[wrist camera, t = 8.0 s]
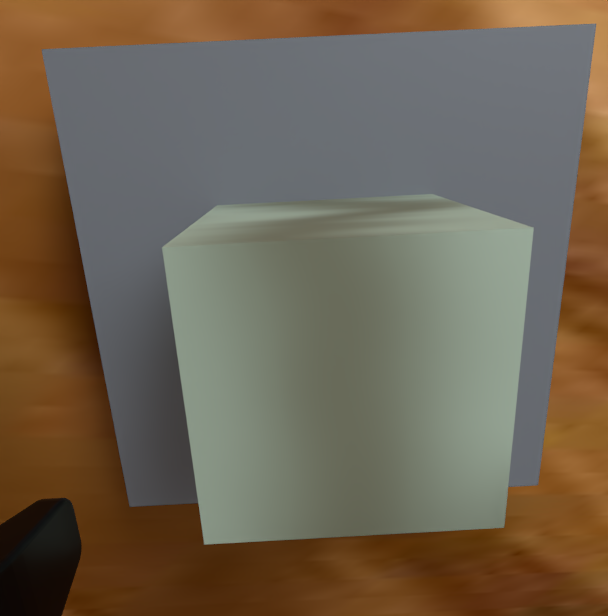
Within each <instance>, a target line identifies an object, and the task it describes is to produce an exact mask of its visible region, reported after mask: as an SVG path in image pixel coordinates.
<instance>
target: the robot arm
mask: <svg viewBox="0 0 608 616" xmlns="http://www.w3.org/2000/svg"><path fill="white" fill-rule="evenodd" d="M80 556H81V539H80V534H79V530H78V526H77V521H76V517H75V513H74V509H73V505H72V503H71V502H70V500H68V499H66V498H52V499H41V500H38V501H36V502H35V503H33V504H32V505H30V506H29V507H27V508H26V509H24V510H23V511H21V512H20V513H18V514H16V515H15V516H13V517H12V518H10V519H9V520H7V521H6V522H4V523H3V524H1V525H0V616H62V613H63V610H64V607H65V604H66V600H67V597H68V594H69V591H70V588H71V585H72V582H73V579H74V576H75V573H76V569H77V566H78V563H79V560H80Z"/></svg>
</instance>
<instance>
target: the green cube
mask: <svg viewBox="0 0 608 616" xmlns="http://www.w3.org/2000/svg"><path fill="white" fill-rule="evenodd" d="M533 231H534V228H533V227H530V226H527V225H524V224H521V223H518V222H515V221H512V220H509V219H506V218H503V217H500V216H497V215H494V214H491V213H488V212H485V211H482V210H479V209H476V208H473V207H470V206H467V205H464V204H461V203H458V202H455V201H452V200H449V199H446V198H443V197H440V196H437V195H434V194H424V195H404V196H385V197H366V198H347V199H328V200H309V201H290V202H271V203H252V204H233V205H217V206H215V207H214V208H213V209H212V210H210V211H209V212H208V213H206V214H205V215H204V216H202V217H201V218H200V219H198V220H197V221H196V222H195V223H193V224H192V225H191V226H189V227H188V228H187V229H185V230H184V231H183V232H181V233H180V234H179V235H178V236H176V237H175V238H174V239H172V240H171V241H170V242H168V243H167V244H166V245H164V246H163V247H162V251H163V258H164V265H165V272H166V279H167V286H168V293H169V300H170V307H171V314H172V321H173V328H174V335H175V342H176V349H177V356H178V363H179V370H180V377H181V384H182V391H183V398H184V405H185V413H186V420H187V427H188V434H189V441H190V448H191V455H192V462H193V469H194V476H195V483H196V490H197V497H198V504H199V511H200V518H201V525H202V532H203V539H204V545H205V544H222V543H240V542H258V541H275V540H293V539H311V538H329V537H346V536H364V535H382V534H399V533H417V532H435V531H453V530H470V529H488V528H504V524H505V514H506V503H507V493H508V483H509V473H510V463H511V453H512V443H513V433H514V423H515V413H516V402H517V392H518V382H519V372H520V362H521V352H522V342H523V332H524V322H525V312H526V301H527V291H528V281H529V271H530V261H531V251H532V241H533Z"/></svg>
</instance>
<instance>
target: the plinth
mask: <svg viewBox="0 0 608 616" xmlns="http://www.w3.org/2000/svg"><path fill="white" fill-rule="evenodd" d="M595 29H596V24H580V25H558V26H536V27H515V28H493V29H472V30H450V31H428V32H407V33H385V34H363V35H342V36H320V37H299V38H277V39H255V40H234V41H212V42H191V43H169V44H147V45H126V46H104V47H83V48H61V49H42V54H43V59H44V64H45V69H46V75H47V80H48V85H49V90H50V95H51V101H52V106H53V111H54V116H55V121H56V127H57V132H58V137H59V142H60V147H61V153H62V158H63V163H64V168H65V173H66V179H67V184H68V189H69V194H70V199H71V205H72V210H73V215H74V220H75V225H76V231H77V236H78V241H79V246H80V251H81V257H82V262H83V267H84V272H85V277H86V283H87V288H88V293H89V298H90V303H91V309H92V314H93V319H94V324H95V329H96V335H97V340H98V345H99V350H100V355H101V361H102V366H103V371H104V376H105V381H106V387H107V392H108V397H109V402H110V407H111V413H112V418H113V423H114V428H115V433H116V439H117V444H118V449H119V454H120V459H121V465H122V470H123V475H124V480H125V485H126V491H127V496H128V501H129V506H130V507H135V506H154V505H173V504H192V503H198V497H197V490H196V483H195V476H194V469H193V462H192V455H191V448H190V441H189V434H188V427H187V420H186V413H185V405H184V398H183V391H182V384H181V377H180V370H179V363H178V356H177V349H176V342H175V335H174V328H173V321H172V314H171V307H170V300H169V293H168V286H167V279H166V272H165V265H164V258H163V251H162V247H163V246H164V245H166V244H167V243H168V242H170V241H171V240H172V239H174V238H175V237H176V236H178V235H179V234H180V233H181V232H183V231H184V230H185V229H187V228H188V227H189V226H191V225H192V224H193V223H195V222H196V221H197V220H198V219H200V218H201V217H202V216H204V215H205V214H206V213H208V212H209V211H210V210H212V209H213V208H214V207H215V206H217V205H233V204H252V203H271V202H290V201H309V200H328V199H347V198H366V197H385V196H404V195H424V194H434V195H437V196H440V197H443V198H446V199H449V200H452V201H455V202H458V203H461V204H464V205H467V206H470V207H473V208H476V209H479V210H482V211H485V212H488V213H491V214H494V215H497V216H500V217H503V218H506V219H509V220H512V221H515V222H518V223H521V224H524V225H527V226H530V227H533V228H534V231H533V241H532V251H531V261H530V271H529V281H528V291H527V301H526V312H525V322H524V332H523V342H522V352H521V362H520V372H519V382H518V392H517V402H516V413H515V423H514V433H513V443H512V453H511V463H510V473H509V483H508V487H513V486H532V485H538V480H539V472H540V465H541V457H542V449H543V441H544V433H545V425H546V417H547V409H548V401H549V393H550V385H551V378H552V370H553V362H554V354H555V346H556V338H557V330H558V322H559V314H560V306H561V298H562V290H563V283H564V275H565V267H566V259H567V251H568V243H569V235H570V227H571V219H572V211H573V203H574V195H575V188H576V180H577V172H578V164H579V156H580V148H581V140H582V132H583V124H584V116H585V108H586V100H587V93H588V85H589V77H590V69H591V61H592V53H593V45H594V37H595Z"/></svg>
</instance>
